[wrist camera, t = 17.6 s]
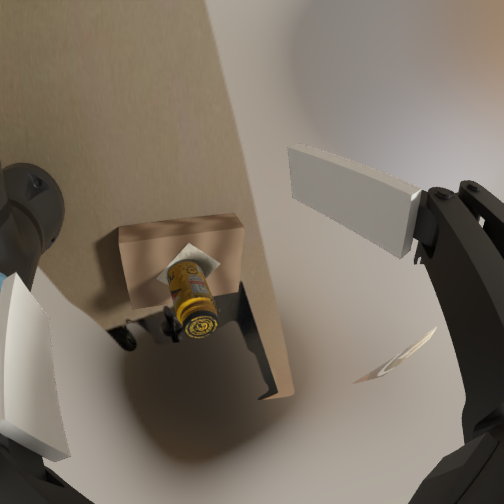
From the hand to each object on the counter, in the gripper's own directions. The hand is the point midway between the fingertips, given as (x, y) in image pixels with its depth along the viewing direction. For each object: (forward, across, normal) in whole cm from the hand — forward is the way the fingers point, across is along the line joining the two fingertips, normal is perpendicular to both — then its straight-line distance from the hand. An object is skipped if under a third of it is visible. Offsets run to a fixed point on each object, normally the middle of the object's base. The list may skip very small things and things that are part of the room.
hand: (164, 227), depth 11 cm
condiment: (+28, +5, -24) cm, 37 cm away
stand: (+33, +5, -24) cm, 41 cm away
